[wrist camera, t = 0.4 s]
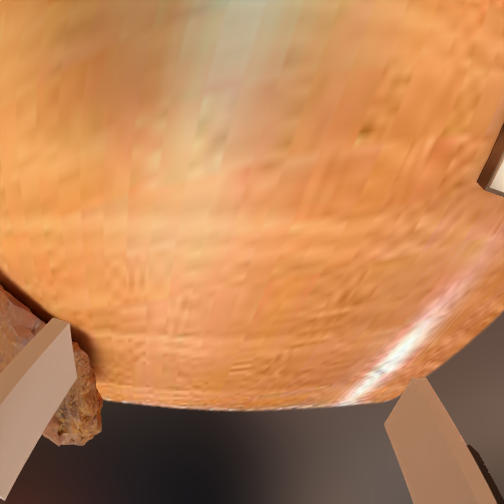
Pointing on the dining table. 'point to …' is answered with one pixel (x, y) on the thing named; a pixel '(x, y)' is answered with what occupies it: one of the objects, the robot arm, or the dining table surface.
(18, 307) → the rock
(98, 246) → the dining table surface
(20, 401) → the robot arm
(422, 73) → the dining table surface
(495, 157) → the board
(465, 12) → the dining table surface
